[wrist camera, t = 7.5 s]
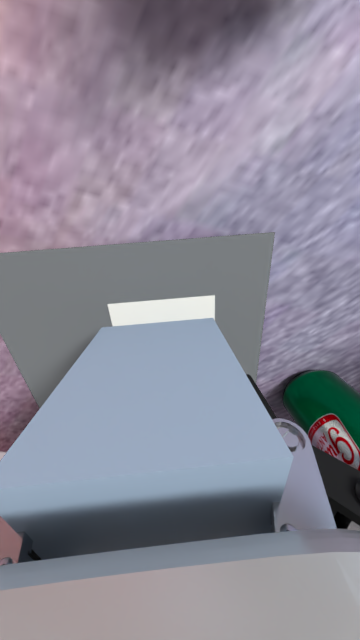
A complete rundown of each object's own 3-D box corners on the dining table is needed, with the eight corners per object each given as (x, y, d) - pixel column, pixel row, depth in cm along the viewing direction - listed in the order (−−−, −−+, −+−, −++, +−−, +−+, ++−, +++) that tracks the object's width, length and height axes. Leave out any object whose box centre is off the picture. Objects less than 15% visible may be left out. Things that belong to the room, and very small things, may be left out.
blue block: (213, 317, 10) (293, 457, 4) (212, 399, 12) (260, 569, 6) (101, 327, 10) (-23, 491, 3) (123, 408, 12) (74, 593, 6)
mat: (271, 232, 11) (275, 232, 11) (251, 402, 17) (253, 406, 16) (-34, 255, 11) (-42, 256, 10) (51, 421, 16) (48, 426, 16)
